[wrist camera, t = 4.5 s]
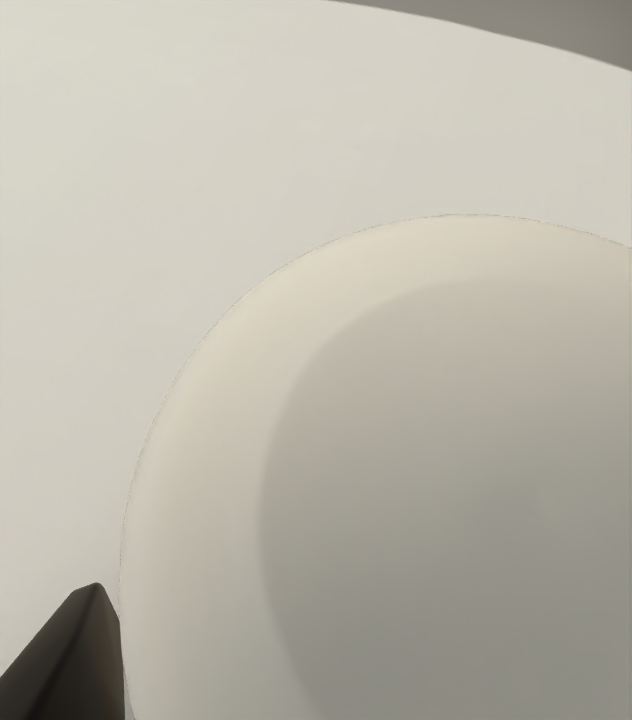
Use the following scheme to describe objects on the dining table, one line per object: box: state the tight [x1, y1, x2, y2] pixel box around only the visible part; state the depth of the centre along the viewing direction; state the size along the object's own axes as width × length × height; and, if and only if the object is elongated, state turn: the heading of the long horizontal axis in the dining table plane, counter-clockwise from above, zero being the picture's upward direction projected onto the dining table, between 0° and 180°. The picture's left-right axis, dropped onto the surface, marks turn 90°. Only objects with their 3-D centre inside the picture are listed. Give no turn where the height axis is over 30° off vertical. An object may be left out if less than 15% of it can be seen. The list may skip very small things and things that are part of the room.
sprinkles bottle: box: [118, 215, 632, 720], centre depth 9 cm, size 5×5×14 cm
